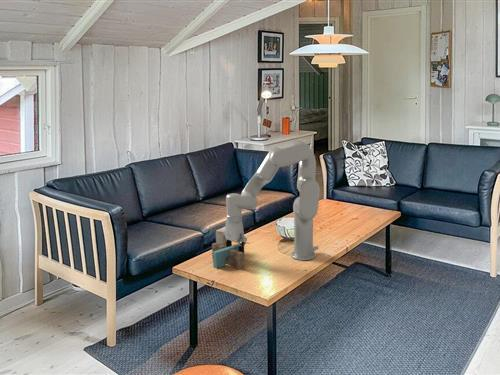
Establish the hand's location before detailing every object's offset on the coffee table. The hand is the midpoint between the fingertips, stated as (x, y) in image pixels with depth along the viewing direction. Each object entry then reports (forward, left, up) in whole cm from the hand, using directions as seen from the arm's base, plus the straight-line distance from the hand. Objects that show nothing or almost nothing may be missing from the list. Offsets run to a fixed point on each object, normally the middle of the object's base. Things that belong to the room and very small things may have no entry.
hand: (235, 250), depth 255 cm
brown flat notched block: (+5, 0, -5) cm, 7 cm away
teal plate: (+4, 0, -5) cm, 7 cm away
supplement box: (-4, -14, -6) cm, 15 cm away
